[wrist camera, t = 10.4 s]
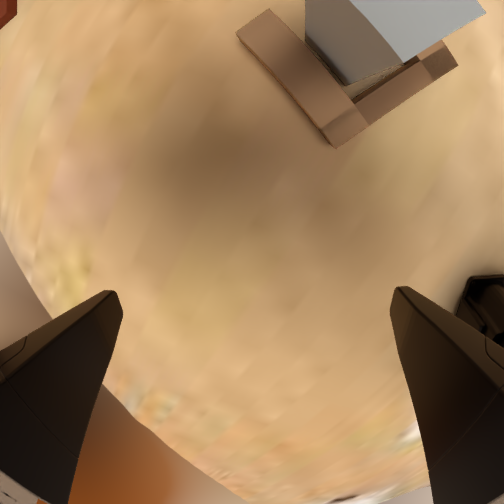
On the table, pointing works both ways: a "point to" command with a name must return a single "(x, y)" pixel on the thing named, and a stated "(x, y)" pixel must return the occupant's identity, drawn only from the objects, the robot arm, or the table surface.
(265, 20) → the slot block
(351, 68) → the peg
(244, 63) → the table surface
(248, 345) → the table surface
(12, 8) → the hanging shelf
